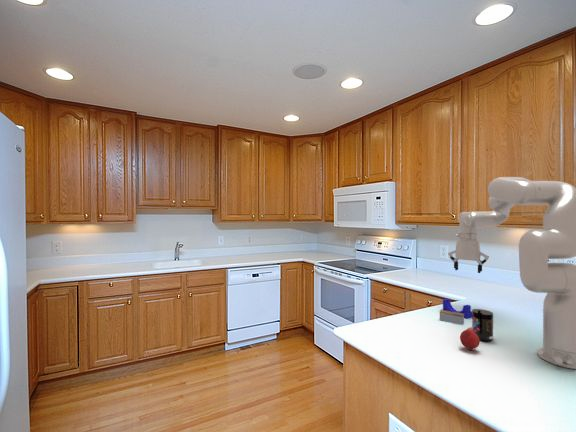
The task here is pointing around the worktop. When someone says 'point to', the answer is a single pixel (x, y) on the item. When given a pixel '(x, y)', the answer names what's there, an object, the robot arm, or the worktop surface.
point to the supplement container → (483, 324)
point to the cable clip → (448, 307)
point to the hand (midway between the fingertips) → (467, 271)
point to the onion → (469, 339)
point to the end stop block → (452, 317)
